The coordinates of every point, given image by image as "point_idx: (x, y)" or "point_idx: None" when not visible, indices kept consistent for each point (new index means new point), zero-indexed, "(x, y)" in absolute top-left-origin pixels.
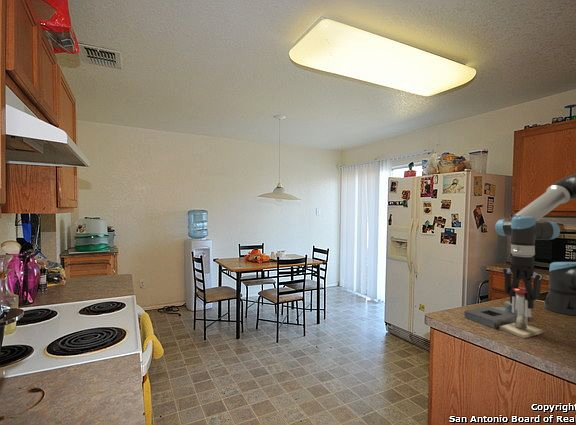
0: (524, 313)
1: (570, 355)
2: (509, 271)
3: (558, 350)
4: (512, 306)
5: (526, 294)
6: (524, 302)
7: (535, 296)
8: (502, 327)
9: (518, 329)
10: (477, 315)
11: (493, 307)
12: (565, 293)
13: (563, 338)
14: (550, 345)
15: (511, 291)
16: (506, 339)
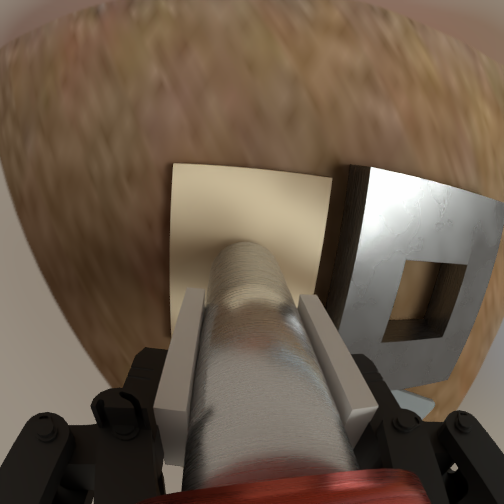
0: (209, 308)
1: (3, 164)
2: None
3: (35, 169)
4: (329, 326)
5: (153, 492)
6: (201, 386)
7: (17, 452)
8: (313, 175)
9: (240, 233)
10: (460, 189)
11: (423, 415)
12: None
13: (103, 344)
14: (71, 196)
15: (418, 460)
16: (221, 52)
